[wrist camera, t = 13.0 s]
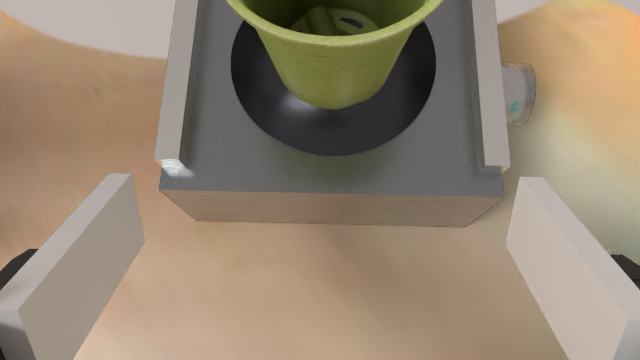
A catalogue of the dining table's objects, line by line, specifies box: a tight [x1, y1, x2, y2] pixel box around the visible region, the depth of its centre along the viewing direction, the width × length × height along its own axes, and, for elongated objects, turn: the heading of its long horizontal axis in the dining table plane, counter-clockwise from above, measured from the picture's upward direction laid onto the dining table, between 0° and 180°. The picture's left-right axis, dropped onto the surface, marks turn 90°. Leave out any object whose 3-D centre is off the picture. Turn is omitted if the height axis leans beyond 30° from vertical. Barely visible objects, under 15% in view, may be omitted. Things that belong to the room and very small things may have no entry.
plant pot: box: [225, 0, 444, 109], centre depth 21 cm, size 9×9×9 cm
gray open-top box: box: [154, 0, 536, 227], centre depth 29 cm, size 20×15×8 cm
